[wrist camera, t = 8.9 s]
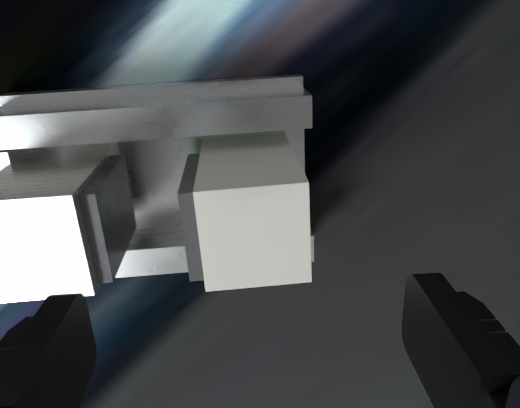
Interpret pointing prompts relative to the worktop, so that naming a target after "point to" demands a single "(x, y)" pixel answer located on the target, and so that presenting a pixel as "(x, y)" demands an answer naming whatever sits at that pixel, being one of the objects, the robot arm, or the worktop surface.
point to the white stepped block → (118, 174)
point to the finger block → (246, 214)
